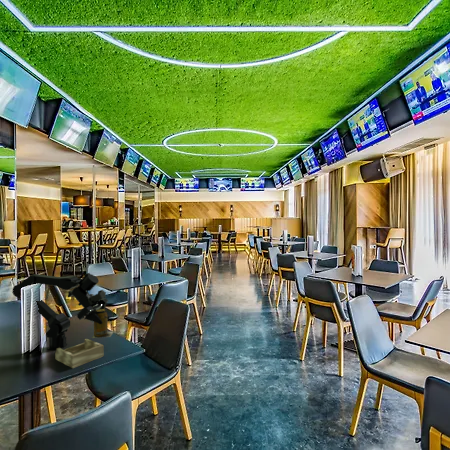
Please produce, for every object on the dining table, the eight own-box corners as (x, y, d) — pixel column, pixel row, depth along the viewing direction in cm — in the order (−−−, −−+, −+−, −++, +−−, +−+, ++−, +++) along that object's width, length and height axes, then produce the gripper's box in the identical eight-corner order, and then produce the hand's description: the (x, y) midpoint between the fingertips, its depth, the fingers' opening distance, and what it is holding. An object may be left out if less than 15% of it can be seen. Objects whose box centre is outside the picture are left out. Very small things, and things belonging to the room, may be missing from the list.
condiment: (95, 332, 149) (95, 308, 148) (113, 331, 150) (113, 307, 150) (91, 338, 141) (90, 312, 141) (110, 337, 143) (110, 312, 142)
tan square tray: (55, 359, 135) (55, 347, 135) (85, 348, 146) (85, 338, 146) (72, 368, 126) (72, 356, 126) (103, 356, 138) (103, 345, 138)
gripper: (83, 290, 137) (107, 315, 135) (104, 282, 155) (125, 304, 154) (67, 307, 137) (90, 332, 136) (89, 297, 156) (110, 319, 155)
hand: (105, 321), depth 145 cm, fingers closed on condiment, 6 cm apart
